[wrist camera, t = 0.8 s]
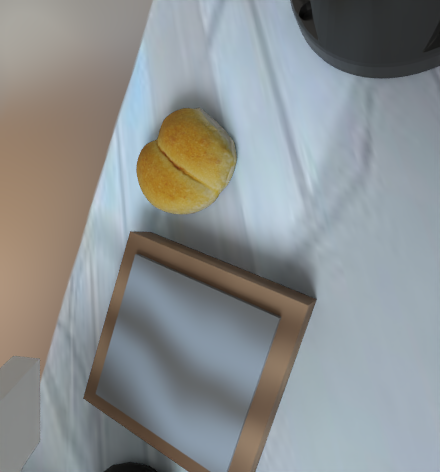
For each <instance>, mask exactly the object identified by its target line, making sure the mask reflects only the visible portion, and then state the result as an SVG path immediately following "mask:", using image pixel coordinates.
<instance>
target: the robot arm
mask: <svg viewBox="0 0 440 472" xmlns="http://www.w3.org/2000/svg"><path fill="white" fill-rule="evenodd" d="M290 1H291V6H292V9H293V12H294V15H295V18H296V20H297V23H298V25H299V27H300V30H301V32H302V34H303V36H304V38H305V40H306V41H307V43H308V44H309V46H310V47H311V48H312V49H313V51H314V52H315V53H316V54H317V55H318V56H319V57H321V58H322V59H323V60H324V61H326V62H327V63H328V64H330V65H332V66H333V67H335V68H337V69H339V70H342V71H344V72H347V73H350V74H353V75H357V76H362V77H369V78H395V77H403V76H408V75H413V74H417V73H420V72H424V71H427V70H430V69H432V68H435V67H438V66H440V0H290ZM39 442H40V359H38V358H29V357H19V356H13V357H12V358H11V359H10V360H9V361H7V362H6V363H5V364H4V365H3V366H2V367H1V368H0V472H20V471H21V469H22V468H23V466H24V465H25V463H26V462H27V460H28V459H29V457H30V455H31V454H32V452H33V451H34V449H35V448H36V446H37V445H38V443H39Z"/></svg>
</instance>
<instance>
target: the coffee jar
mask: <svg viewBox="0 0 440 472" xmlns="http://www.w3.org/2000/svg"><path fill="white" fill-rule="evenodd" d="M104 472H158V471H156V470H155V469H153V468H152V467H150V466H147V465H143V464H139V463H132V462H129V463H122V464H116V465H113V466H111V467H110V468H108V469H107V470H105V471H104Z"/></svg>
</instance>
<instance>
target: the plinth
mask: <svg viewBox="0 0 440 472" xmlns="http://www.w3.org/2000/svg"><path fill="white" fill-rule="evenodd" d="M316 300H317V299H314V298H312V297H309V296H307V295H305V294H302V293H300V292H297V291H295V290H292V289H290V288H287V287H285V286H282V285H280V284H277V283H275V282H272V281H270V280H268V279H265V278H263V277H260V276H258V275H255V274H253V273H250V272H248V271H245V270H243V269H240V268H238V267H235V266H233V265H231V264H228V263H226V262H223V261H221V260H218V259H216V258H213V257H211V256H208V255H206V254H203V253H201V252H198V251H196V250H194V249H191V248H189V247H186V246H184V245H181V244H179V243H176V242H174V241H171V240H169V239H166V238H164V237H161V236H159V235H157V234H154V233H152V232H131V231H130V234H129V238H128V241H127V245H126V248H125V252H124V255H123V259H122V262H121V266H120V270H119V273H118V277H117V280H116V284H115V287H114V291H113V294H112V298H111V301H110V305H109V309H108V312H107V316H106V319H105V323H104V326H103V330H102V333H101V337H100V341H99V344H98V348H97V351H96V355H95V358H94V362H93V365H92V369H91V373H90V376H89V380H88V383H87V387H86V390H85V394H84V397H83V399H85V400H86V401H88V402H89V403H91V404H92V405H94V406H95V407H96V408H98V409H99V410H101V411H102V412H104V413H105V414H106V415H108V416H109V417H111V418H112V419H114V420H115V421H117V422H118V423H119V424H121V425H122V426H124V427H125V428H127V429H128V430H129V431H131V432H132V433H134V434H135V435H137V436H138V437H139V438H141V439H142V440H144V441H145V442H147V443H148V444H150V445H151V446H152V447H154V448H155V449H157V450H158V451H160V452H161V453H162V454H164V455H165V456H167V457H168V458H170V459H171V460H173V461H174V462H175V463H177V464H178V465H180V466H181V467H183V468H184V469H185V470H187V471H188V472H255V471H256V468H257V465H258V463H259V460H260V457H261V454H262V451H263V449H264V446H265V443H266V440H267V437H268V435H269V432H270V429H271V426H272V423H273V420H274V418H275V415H276V412H277V409H278V406H279V404H280V401H281V398H282V395H283V392H284V390H285V387H286V384H287V381H288V378H289V376H290V373H291V370H292V367H293V364H294V362H295V359H296V356H297V353H298V350H299V348H300V345H301V342H302V339H303V336H304V333H305V331H306V328H307V325H308V322H309V319H310V317H311V314H312V311H313V308H314V305H315V303H316Z"/></svg>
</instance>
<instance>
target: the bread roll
mask: <svg viewBox="0 0 440 472" xmlns="http://www.w3.org/2000/svg"><path fill="white" fill-rule="evenodd" d="M236 161H237V157H236V150H235V145H234V141H233V140H232V138H231V137H230V136H229V135H228V133H227V132H226V131H225V130H224V129H223V128H222V127H221V126H220V125H219V124H218V123H217V122H216V121H215V120H214V119H212V118H211V117H210V116H209V114H207V113H205V112H204V111H203V110H202V109H201V108H196V109H190V108H183V109H180V110H177V111H175V112H173V113H171V114H170V115H169V116H167V117H166V118H165V119H164V121H163V123H162V125H161V128H160V131H159V136H158V139H157V140H155V141H152V142H150V143H148V144H146V145H145V146H144V148H143V149H142V150H141V152H140V155H139V158H138V161H137V169H136V170H137V177H138V181H139V185H140V187H141V190H142V192H143V194H144V195H145V197H146V198H147V200H148V201H149V202H150V203H151V204H152V205H153V206H155V207H156V208H158V209H160V210H162V211H165V212H169V213H173V214H190V213H195V212H198V211H201V210H203V209H204V208H207V207H208V206H210V205H211V204H212V203H213V202H214V201H215V200H216V199H217V197H218V196H219V194H220V192H221V191H223V189H224V188H225V187H226V186H227V185H228V183H229V181H230V180H231V178H232V175H233V173H234V170H235V165H236Z"/></svg>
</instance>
